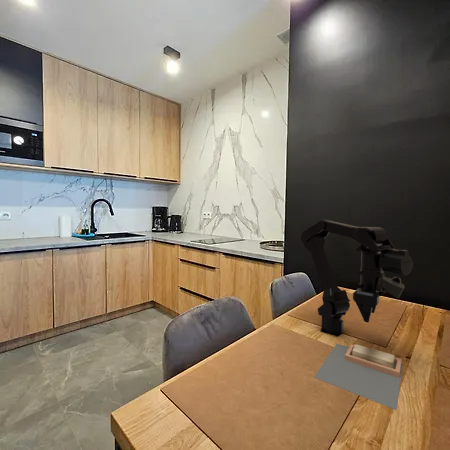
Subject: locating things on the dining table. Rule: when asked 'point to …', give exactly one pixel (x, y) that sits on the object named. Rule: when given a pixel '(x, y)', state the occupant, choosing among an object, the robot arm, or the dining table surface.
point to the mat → (360, 378)
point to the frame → (374, 365)
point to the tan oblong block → (373, 356)
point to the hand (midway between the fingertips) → (369, 317)
